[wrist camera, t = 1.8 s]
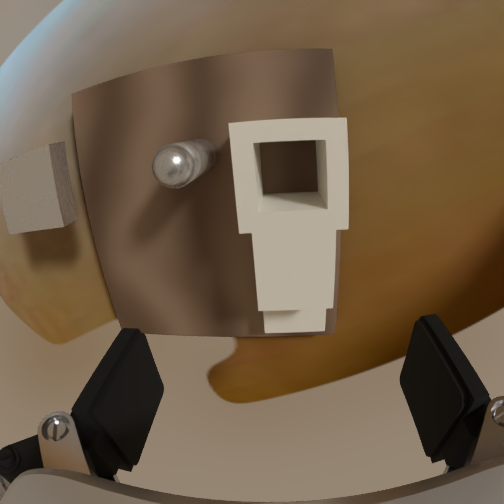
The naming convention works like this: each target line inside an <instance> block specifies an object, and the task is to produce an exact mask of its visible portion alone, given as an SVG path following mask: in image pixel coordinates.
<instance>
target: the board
mask: <svg viewBox="0 0 504 504" xmlns="http://www.w3.org/2000/svg"><path fill="white" fill-rule="evenodd" d="M72 107H73V119H74V129H75V138H76V146H77V154H78V161H79V167H80V174H81V180H82V185H83V191H84V196H85V201H86V206H87V211H88V215H89V220H90V224H91V229H92V233H93V237H94V241H95V245H96V249H97V253H98V256H99V260H100V264H101V267H102V271H103V274H104V278H105V281H106V284H107V287H108V291H109V294H110V297H111V300H112V303H113V306H114V309H115V312H116V315H117V318H118V320H119V323H120V326H121V329H123V328H138V329H139V330H140V331H141V333H146V334H162V335H163V334H164V335H183V336H185V335H186V336H218V337H267V336H302V335H323V334H335V329H336V317H337V304H338V289H339V270H340V244H341V230H336V257H335V282H334V301H333V308H328V309H326V322H325V331H316V332H292V333H265V328H264V315H263V311H258V300H257V289H256V277H255V266H254V254H253V243H252V233H243V234H239V228H238V218H237V208H236V198H235V188H234V177H233V167H232V156H231V146H230V135H229V124H228V123H235V122H245V121H258V120H272V119H293V118H338V105H337V92H336V81H335V71H334V61H333V53H332V49H280V50H264V51H252V52H242V53H233V54H225V55H218V56H211V57H205V58H199V59H193V60H188V61H183V62H178V63H173V64H169V65H164V66H160V67H156V68H152V69H148V70H144V71H140V72H136V73H133V74H129V75H126V76H123V77H119V78H116V79H113V80H110V81H107V82H104V83H101V84H98V85H95V86H92V87H89V88H86V89H84V90H81V91H78V92H76V93H73V94H72ZM196 139H207V140H210V141H211V142H213V143H214V144H215V146H216V147H217V149H218V153H219V158H218V161H217V163H216V165H215V166H214V167H213V168H212V169H211V170H209V171H207V172H206V173H204V174H203V175H201V176H199V177H198V178H196V179H195V180H193V181H191V182H190V183H188V184H187V185H185V186H183V187H181V188H177V189H172V188H168V187H165V186H163V185H161V184H160V183H159V182H158V181H157V180H156V179H155V177H154V175H153V172H152V162H153V159H154V157H155V155H156V153H157V152H158V151H159V150H160V149H161V148H162V147H163V146H165V145H168V144H173V143H178V142H184V141H190V140H196ZM259 145H260V157H261V170H262V183H263V194H272V193H294V192H318V182H317V157H316V140H298V141H276V142H260V143H259Z"/></svg>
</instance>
